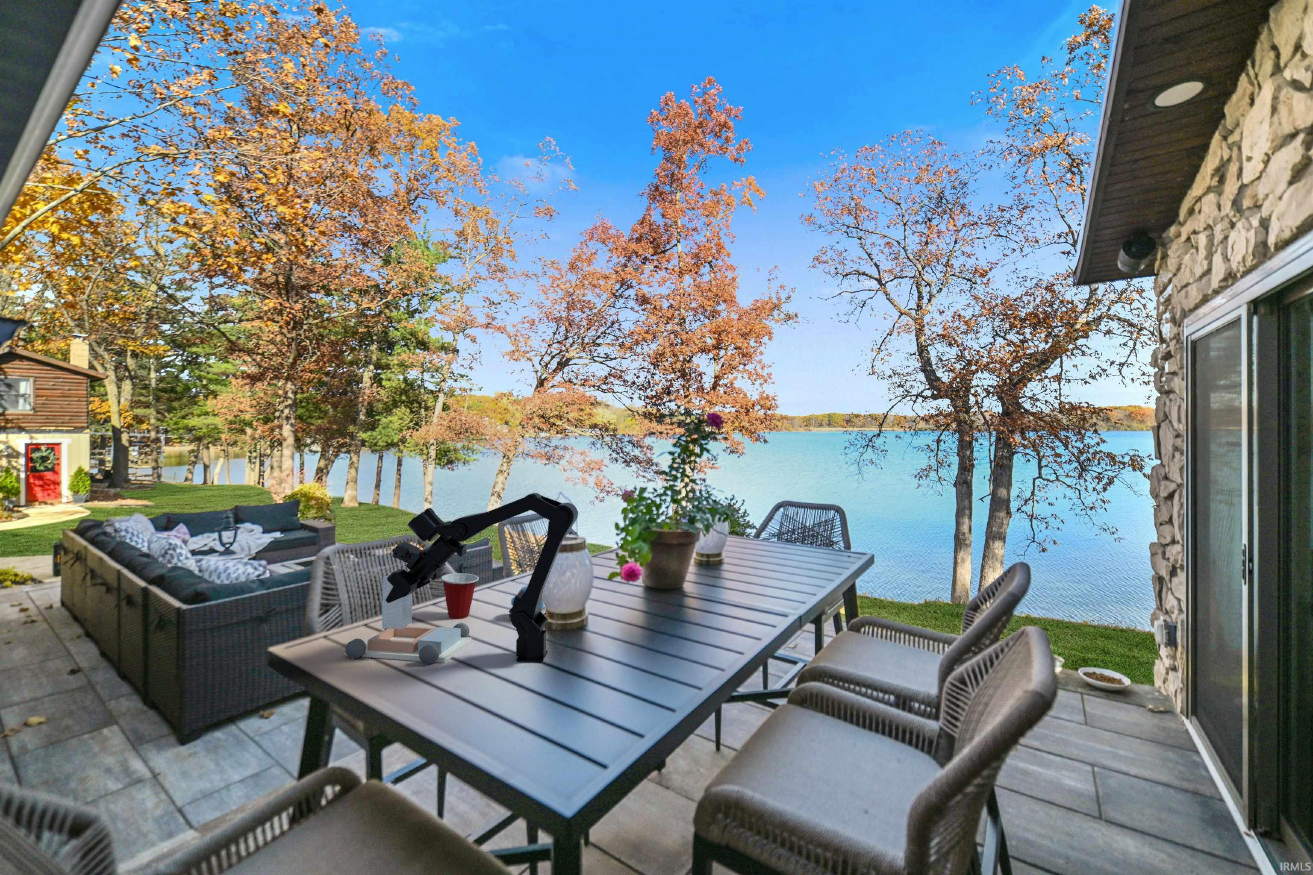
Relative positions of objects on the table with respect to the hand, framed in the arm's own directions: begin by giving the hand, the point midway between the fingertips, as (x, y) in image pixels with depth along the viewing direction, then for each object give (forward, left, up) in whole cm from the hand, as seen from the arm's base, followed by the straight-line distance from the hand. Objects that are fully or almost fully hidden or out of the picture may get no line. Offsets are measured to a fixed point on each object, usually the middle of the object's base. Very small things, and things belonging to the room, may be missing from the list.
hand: (392, 598), depth 140 cm
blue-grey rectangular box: (-1, 0, -7) cm, 7 cm away
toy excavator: (-30, -29, -14) cm, 44 cm away
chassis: (-3, -3, -13) cm, 14 cm away
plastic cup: (-6, -30, -14) cm, 34 cm away
